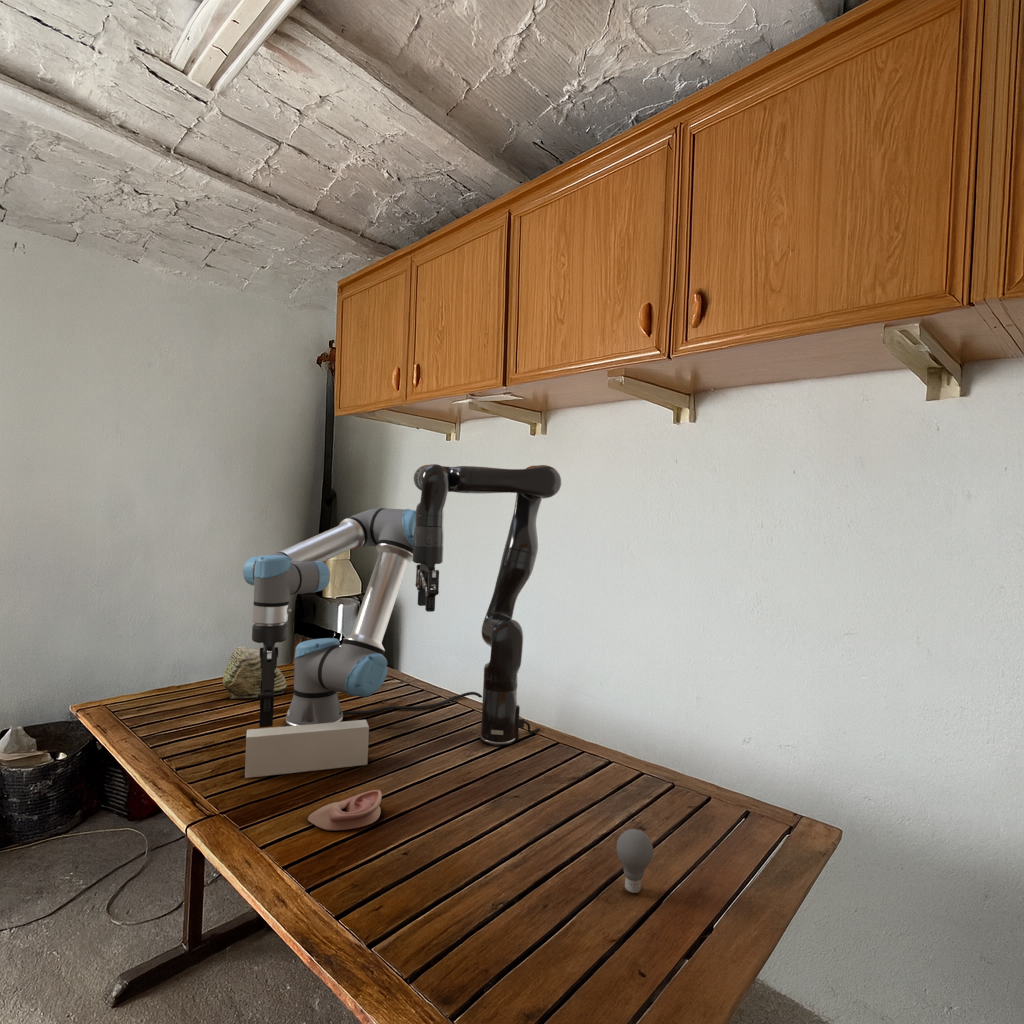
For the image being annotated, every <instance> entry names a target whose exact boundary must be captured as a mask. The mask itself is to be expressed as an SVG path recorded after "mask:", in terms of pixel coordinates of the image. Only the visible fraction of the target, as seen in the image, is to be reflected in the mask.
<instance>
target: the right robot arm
mask: <svg viewBox="0 0 1024 1024" xmlns="http://www.w3.org/2000/svg"><path fill="white" fill-rule="evenodd" d="M413 483H414V485H415V487H416V488H417V489H418V490H419V491H421V493H420V500H419V503H418V504H417V505H416V508H415V510H416V518H415V525H416V526H415V530H414V541H413V561H412V562H413V563H415V564H416V565H415V567H416V573H415V584H414V585H415V587H416V591H417V606H419V607H425V608H424V609H425V612H427V613H428V612H429V613H431V612H432V613H433V612H435V610H436V597H437V596H439V594H440V590H439V589H440V571H439V569H436V565H441V564H442V563H443V562H444V541H445V534H444V533H445V532H444V521H445V519H444V515H445V510H444V509H445V505H446V502H447V497H448V493H456V494H457V493H458V494H475V495H476V494H477V495H478V494H482V495H483V494H509V493H510V494H516V495H515V502H514V509H513V513H512V518H511V522H510V526H509V529H508V533H507V537H506V541H505V544H504V548H503V552H502V556H501V561H500V565H499V569H498V573H497V577H496V581H495V586H494V590H493V593H492V597H491V600H490V602H489V605H488V607H487V610H486V613H485V616H484V619H483V622H482V625H481V639H482V640H483V642H484V643H485V645H487V646H488V647H490V657H489V658H490V659H489V662H487V663H485V665H484V666H483V683H482V702H481V703H482V704H481V705H482V707H481V725H480V726H481V727H480V728H481V730H480V741H481V742H482V743H484V744H486V745H489V746H495V747H502V746H503V747H504V746H510V745H512V744H514V743H515V742H519V734H520V733H519V731H520V730H519V729H524V728H525V725H526V726H527V732H528V733H529V734H534V733H537V732H539V731H541V728H540V727H538V728H535V729H533V730H531V724H530V723H529V722H528V721H526V720H525V718H523V717H522V716H521V715H520V711H521V709H520V708H521V707H520V706H521V705H519V704H518V686H519V671H520V669H521V666H522V661H523V650H524V630H523V627H522V625H521V624H520V622H519V621H518V620H516V619H515V618H513V617H514V613H515V607H516V604H517V601H518V599H519V596H520V594H521V592H522V591H523V590H524V588H526V586H527V584H528V582H529V580H530V579H531V577H532V575H533V573H534V570H535V568H536V563H537V559H538V554H539V549H540V541H539V532H538V515H539V510H540V507H541V504H542V500H548V499H551V498H553V497H555V496H556V495H558V493H559V492H560V490H561V488H562V484H563V483H562V477H561V473H560V472H559V471H558V470H557V469H556V468H555V467H552V466H550V465H547V464H540V465H539V464H538V465H529V466H528V467H527V466H526V468H517V469H516V468H499V467H489V466H488V467H487V466H474V465H473V466H472V465H457V466H445V465H444V466H443V465H440V464H438V463H432V464H424V465H421V466H419V467H418V468H417V469H416V471H415V472H414V474H413Z"/></svg>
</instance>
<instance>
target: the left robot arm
mask: <svg viewBox="0 0 1024 1024" xmlns="http://www.w3.org/2000/svg"><path fill="white" fill-rule="evenodd" d="M415 518H416V509H410V508H406V509H404V508H385V507H375V508H371V509H368V510H365V511H361V512H359V513H356V514H354V515H351V516H349V517H346V518H343V520H341V521H340V522H339V525H337V526H335V527H333V528H330V529H328V530H325V531H323V532H321V533H319V534H317V535H314V536H312V537H310V538H307V539H305V540H303V541H301V542H297V543H296V544H294V545H291V546H289V547H287V548H284V549H282V550H280V551H277V552H275V553H273V554H263V555H258V556H251V557H249V559H247V560H246V561H245V562H244V565H243V568H242V576H243V579H244V581H245V582H246V583H247V584H248V585H250V586H253V604H252V619H251V620H252V621H251V622H253V625H252V626H251V640H252V642H254V643H257V644H263V645H262V647H259V648H260V661H261V663H260V668H261V669H262V670H261V672H262V675H261V678H262V679H261V692H260V694H258V697H257V699H259V721H258V722H259V724H258V725H259V726H258V727H259V728H273V726H274V706H275V705H274V703H275V693H274V678H276V673H275V669H276V668H278V658H279V647H278V646H276V644H277V643H283V642H285V641H286V640H287V639H288V629H289V628H288V627H289V626H288V624H287V622H288V618H289V614H290V613H291V612H292V608H288V607H289V604H290V596H292V595H300V594H301V595H302V594H314V593H316V592H321V591H324V590H325V589H326V588H327V587H328V586H329V584H330V581H331V572H330V569H329V567H328V565H327V564H326V563H324V562H327V561H329V560H331V559H332V558H335V557H337V556H339V555H341V554H343V553H346V552H347V551H350V550H352V551H356V550H357V551H358V550H359V549H361V548H364V547H365V548H366V547H375V549H376V551H377V553H378V555H377V558H376V562H375V564H374V568H373V570H372V573H371V575H370V579H369V581H368V585H367V587H366V589H365V593H364V597H363V599H362V602H361V605H360V608H359V610H358V613H357V616H356V619H355V622H354V625H353V628H352V631H351V633H350V634H349V635H347V636H345V637H344V638H343V640H342V642H341V643H340V640H339V639H338V638H335V637H324V638H323V637H322V638H313V639H308V640H304V641H302V642H299V643H298V644H297V645H296V647H295V652H294V653H295V654H294V657H293V658H294V660H293V662H294V663H293V665H294V666H293V695H292V696H293V697H292V699H291V702H290V704H289V708H288V709H287V713H286V715H285V726H297V725H309V724H321V723H332V722H344V716H351V715H368V714H369V715H370V714H375V713H379V712H383V711H389V710H390V711H391V710H407V711H408V710H411V711H412V710H413V711H414V710H424V709H425V710H426V709H432V708H436V707H440V706H443V705H446V704H448V703H450V702H451V701H454V700H457V699H461V698H464V697H468V696H476V697H478V698H479V699H480V698H482V699H483V695H482V694H481V693H478V692H477V691H468V692H464V693H461V694H458V695H454V696H451V697H448V698H447V699H445V700H444V701H440V702H436V703H430V704H426V705H424V704H423V705H410V706H408V705H390V706H383V707H379V708H373V709H368V710H350V711H349V710H348V711H343V709H342V706H341V702H340V699H339V695H338V693H342V694H346V695H349V696H351V697H361V698H367V697H370V696H372V695H373V694H374V693H376V692H377V691H379V690H380V688H381V687H382V686H383V684H384V682H385V681H386V679H387V676H388V669H389V667H388V660H387V658H386V657H385V652H386V649H385V648H384V645H383V640H384V636H385V634H386V632H387V628H388V625H389V621H390V618H391V616H392V613H393V610H394V606H395V603H396V601H397V597H398V594H399V591H400V588H401V585H402V583H403V579H404V576H405V573H406V569H407V566H408V565H409V563H411V562H413V541H414V530H415V526H416V525H415ZM288 613H289V614H288ZM340 644H341V645H340Z"/></svg>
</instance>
